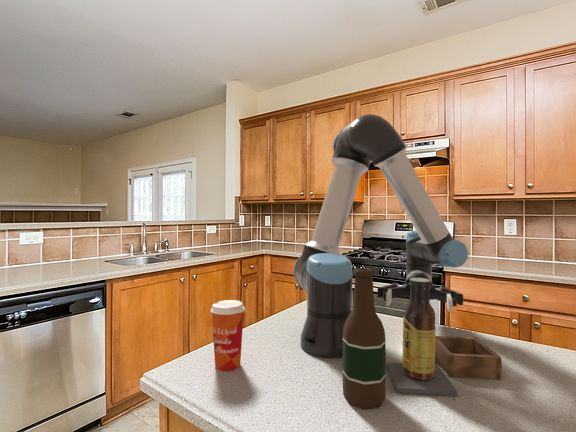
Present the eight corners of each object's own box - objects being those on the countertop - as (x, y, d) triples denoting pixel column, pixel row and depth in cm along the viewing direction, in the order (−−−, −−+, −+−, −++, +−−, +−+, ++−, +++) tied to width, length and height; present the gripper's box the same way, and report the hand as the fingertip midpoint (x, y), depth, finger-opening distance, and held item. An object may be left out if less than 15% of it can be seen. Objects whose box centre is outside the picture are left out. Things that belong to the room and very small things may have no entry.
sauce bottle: (403, 365, 72) (404, 275, 72) (434, 371, 69) (435, 277, 69) (401, 379, 65) (402, 280, 66) (435, 385, 63) (436, 282, 63)
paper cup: (203, 370, 72) (203, 306, 72) (222, 356, 79) (222, 298, 79) (234, 376, 69) (234, 310, 69) (251, 361, 76) (251, 301, 76)
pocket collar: (448, 376, 69) (448, 355, 69) (431, 353, 80) (431, 335, 80) (501, 379, 68) (501, 357, 68) (476, 356, 79) (476, 337, 79)
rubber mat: (396, 392, 62) (396, 387, 62) (386, 366, 73) (386, 362, 73) (457, 396, 61) (457, 391, 61) (437, 369, 72) (437, 364, 72)
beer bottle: (387, 412, 56) (387, 273, 56) (341, 407, 58) (341, 271, 58) (383, 389, 64) (383, 266, 64) (343, 385, 65) (343, 265, 65)
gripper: (467, 302, 91) (479, 326, 71) (375, 294, 100) (363, 313, 81) (466, 275, 91) (479, 291, 71) (374, 270, 100) (363, 283, 81)
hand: (418, 303), depth 76 cm, fingers open, 13 cm apart
